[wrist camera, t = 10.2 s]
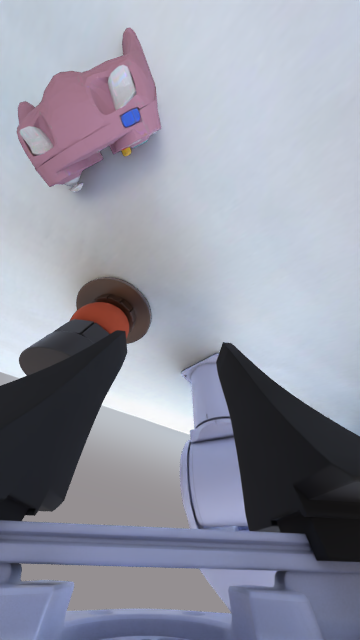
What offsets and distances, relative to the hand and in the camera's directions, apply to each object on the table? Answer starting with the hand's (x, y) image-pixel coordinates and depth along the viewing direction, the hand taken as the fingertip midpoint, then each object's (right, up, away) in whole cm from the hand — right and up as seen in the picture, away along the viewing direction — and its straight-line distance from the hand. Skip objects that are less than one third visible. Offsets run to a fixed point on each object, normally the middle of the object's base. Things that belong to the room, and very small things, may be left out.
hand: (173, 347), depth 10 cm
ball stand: (-9, +3, +9) cm, 13 cm away
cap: (-9, 0, +3) cm, 9 cm away
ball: (-9, +1, +6) cm, 10 cm away
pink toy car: (-6, +17, +2) cm, 18 cm away
